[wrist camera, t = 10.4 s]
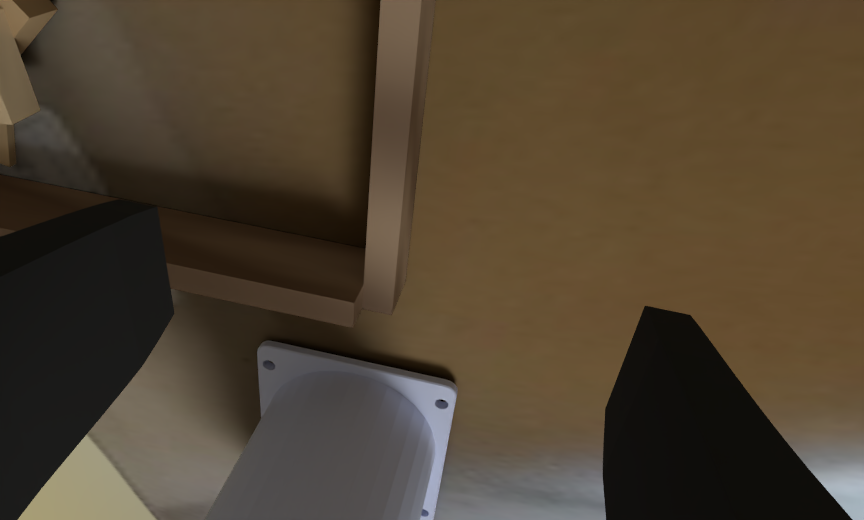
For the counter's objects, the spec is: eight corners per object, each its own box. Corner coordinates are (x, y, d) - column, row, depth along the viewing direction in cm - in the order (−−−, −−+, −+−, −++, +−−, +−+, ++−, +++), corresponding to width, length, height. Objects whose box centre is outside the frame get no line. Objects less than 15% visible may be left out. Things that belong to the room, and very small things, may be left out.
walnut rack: (405, 280, 22) (383, 334, 20) (-31, 190, 24) (-102, 229, 21) (447, -115, 15) (422, -109, 13) (-165, -201, 17) (-291, -210, 15)
